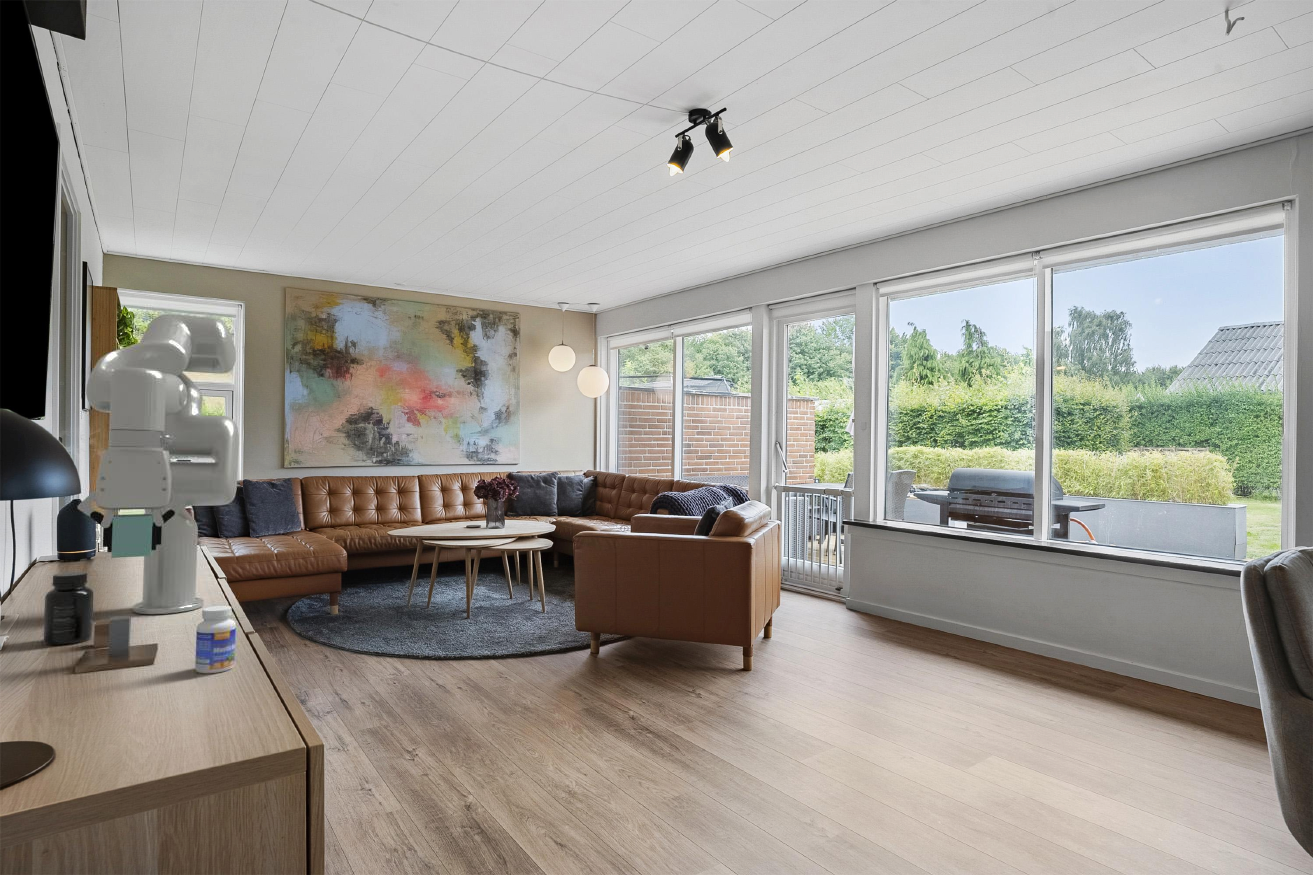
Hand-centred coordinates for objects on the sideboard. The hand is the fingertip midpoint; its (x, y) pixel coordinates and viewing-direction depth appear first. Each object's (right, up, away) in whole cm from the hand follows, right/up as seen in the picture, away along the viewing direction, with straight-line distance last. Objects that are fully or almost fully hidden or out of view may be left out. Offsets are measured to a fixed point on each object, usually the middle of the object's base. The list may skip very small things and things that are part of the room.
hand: (132, 549), depth 119 cm
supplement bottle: (-18, -18, +9) cm, 27 cm away
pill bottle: (+17, -19, -5) cm, 26 cm away
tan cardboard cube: (-10, -18, +7) cm, 22 cm away
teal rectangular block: (0, -1, 0) cm, 1 cm away
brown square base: (-1, -18, -2) cm, 18 cm away
